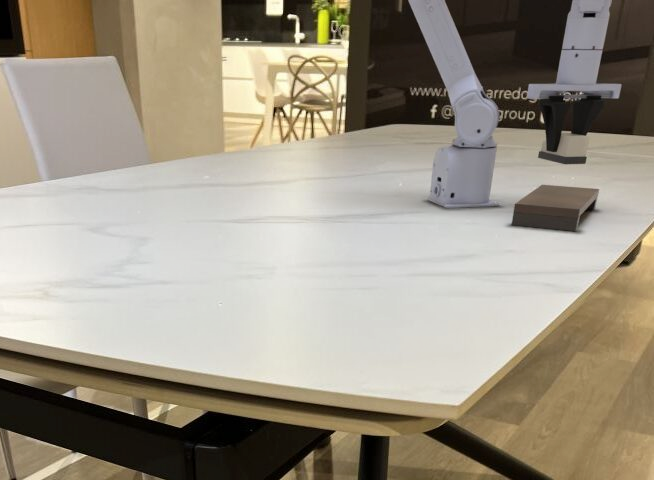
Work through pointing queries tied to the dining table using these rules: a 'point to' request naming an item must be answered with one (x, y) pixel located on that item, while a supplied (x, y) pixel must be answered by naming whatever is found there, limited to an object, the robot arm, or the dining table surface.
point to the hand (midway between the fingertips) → (563, 151)
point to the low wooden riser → (554, 207)
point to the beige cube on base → (567, 149)
